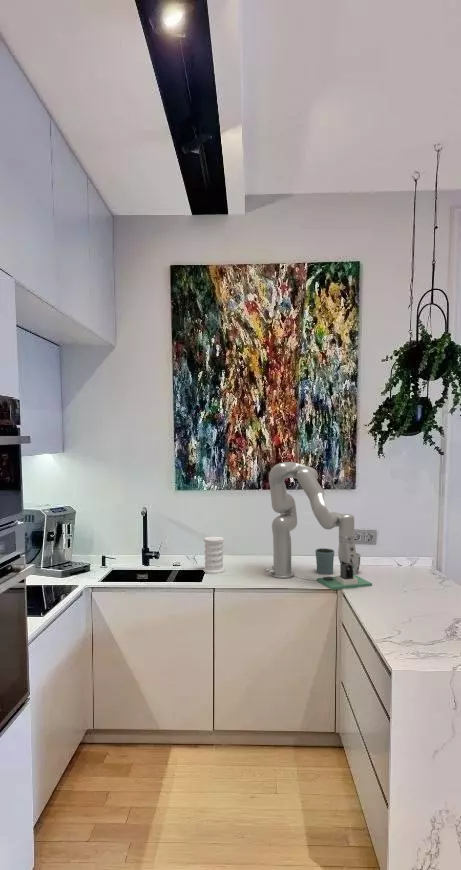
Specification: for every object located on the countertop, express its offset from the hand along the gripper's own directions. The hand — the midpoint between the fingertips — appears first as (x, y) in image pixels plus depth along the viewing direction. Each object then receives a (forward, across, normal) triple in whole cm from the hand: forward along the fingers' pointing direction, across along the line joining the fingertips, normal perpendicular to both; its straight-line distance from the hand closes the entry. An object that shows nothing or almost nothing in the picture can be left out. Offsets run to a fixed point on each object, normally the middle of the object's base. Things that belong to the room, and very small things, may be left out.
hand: (346, 575), depth 236 cm
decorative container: (+5, +43, +57) cm, 72 cm away
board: (+5, +3, 0) cm, 5 cm away
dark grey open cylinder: (+5, +23, 0) cm, 23 cm away
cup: (+5, +18, -14) cm, 23 cm away
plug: (+2, 0, 0) cm, 2 cm away
